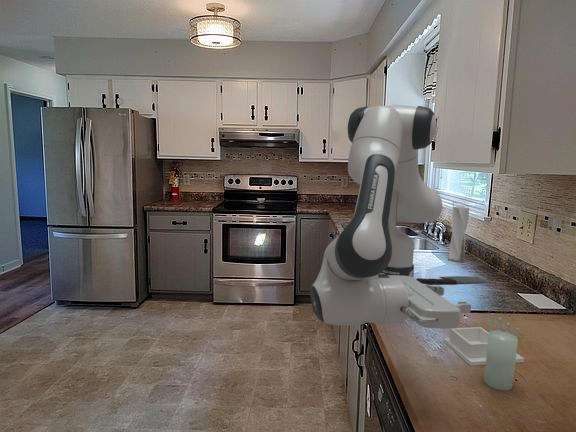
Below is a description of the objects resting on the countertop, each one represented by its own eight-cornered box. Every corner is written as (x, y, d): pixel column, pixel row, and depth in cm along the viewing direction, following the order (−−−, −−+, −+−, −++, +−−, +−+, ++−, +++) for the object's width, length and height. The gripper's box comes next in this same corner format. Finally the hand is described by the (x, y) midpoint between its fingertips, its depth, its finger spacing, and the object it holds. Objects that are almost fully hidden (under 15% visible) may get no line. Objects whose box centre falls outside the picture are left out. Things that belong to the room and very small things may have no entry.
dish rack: (470, 365, 91) (473, 334, 90) (443, 341, 103) (445, 313, 102) (523, 362, 93) (527, 331, 92) (490, 339, 105) (493, 311, 104)
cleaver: (422, 287, 147) (422, 281, 147) (409, 279, 157) (409, 274, 156) (489, 284, 153) (490, 279, 153) (473, 276, 162) (473, 272, 162)
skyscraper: (444, 259, 187) (449, 202, 182) (450, 256, 193) (455, 200, 188) (462, 263, 181) (468, 203, 177) (467, 259, 187) (473, 202, 183)
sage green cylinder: (480, 383, 84) (485, 336, 83) (487, 373, 88) (492, 328, 87) (508, 393, 81) (514, 344, 79) (514, 382, 85) (520, 336, 83)
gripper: (417, 305, 67) (489, 302, 69) (373, 270, 87) (431, 269, 89) (414, 339, 68) (485, 335, 70) (372, 297, 88) (428, 295, 90)
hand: (454, 298), depth 80 cm, fingers open, 8 cm apart
